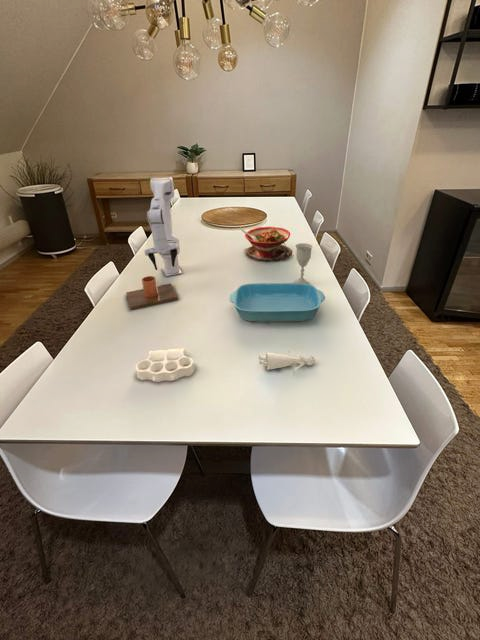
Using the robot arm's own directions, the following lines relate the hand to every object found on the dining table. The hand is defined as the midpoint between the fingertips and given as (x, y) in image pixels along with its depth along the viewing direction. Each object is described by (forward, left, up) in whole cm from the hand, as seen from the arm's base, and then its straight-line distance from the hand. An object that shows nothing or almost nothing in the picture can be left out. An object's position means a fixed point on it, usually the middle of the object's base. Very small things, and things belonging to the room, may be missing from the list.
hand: (164, 267), depth 154 cm
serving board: (+7, -9, -10) cm, 15 cm away
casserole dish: (+40, +35, -10) cm, 54 cm away
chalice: (+24, +56, -10) cm, 62 cm away
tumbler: (+7, -9, -8) cm, 14 cm away
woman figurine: (+71, +23, -10) cm, 75 cm away
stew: (-14, +56, -10) cm, 59 cm away
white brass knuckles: (+57, -13, -10) cm, 59 cm away
